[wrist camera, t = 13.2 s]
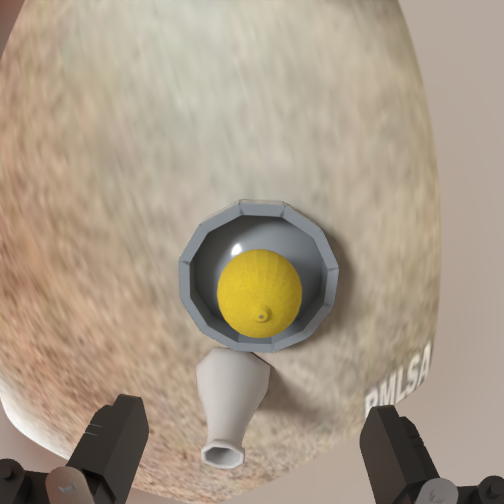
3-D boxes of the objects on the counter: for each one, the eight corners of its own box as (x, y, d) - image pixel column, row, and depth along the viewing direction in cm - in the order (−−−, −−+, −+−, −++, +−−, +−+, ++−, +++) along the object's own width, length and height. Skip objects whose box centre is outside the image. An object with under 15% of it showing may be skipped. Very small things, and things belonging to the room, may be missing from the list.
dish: (186, 197, 23) (177, 201, 21) (337, 205, 23) (345, 209, 21) (188, 331, 26) (182, 346, 24) (320, 337, 26) (325, 353, 24)
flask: (254, 411, 29) (251, 489, 19) (186, 389, 28) (163, 465, 19) (283, 360, 27) (292, 442, 18) (208, 334, 27) (185, 413, 17)
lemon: (213, 294, 25) (197, 341, 17) (237, 229, 24) (229, 251, 16) (278, 316, 25) (288, 370, 17) (304, 254, 24) (328, 287, 16)
